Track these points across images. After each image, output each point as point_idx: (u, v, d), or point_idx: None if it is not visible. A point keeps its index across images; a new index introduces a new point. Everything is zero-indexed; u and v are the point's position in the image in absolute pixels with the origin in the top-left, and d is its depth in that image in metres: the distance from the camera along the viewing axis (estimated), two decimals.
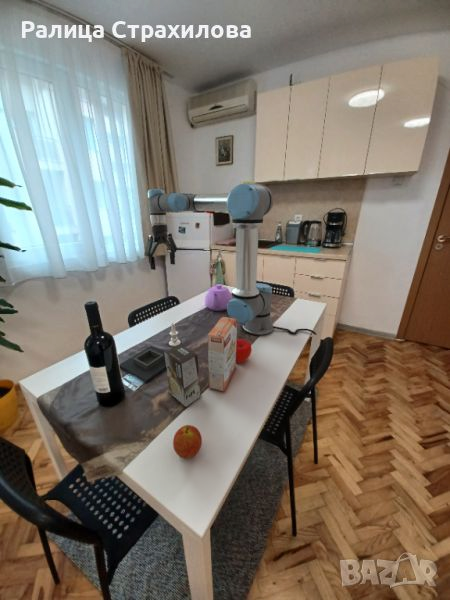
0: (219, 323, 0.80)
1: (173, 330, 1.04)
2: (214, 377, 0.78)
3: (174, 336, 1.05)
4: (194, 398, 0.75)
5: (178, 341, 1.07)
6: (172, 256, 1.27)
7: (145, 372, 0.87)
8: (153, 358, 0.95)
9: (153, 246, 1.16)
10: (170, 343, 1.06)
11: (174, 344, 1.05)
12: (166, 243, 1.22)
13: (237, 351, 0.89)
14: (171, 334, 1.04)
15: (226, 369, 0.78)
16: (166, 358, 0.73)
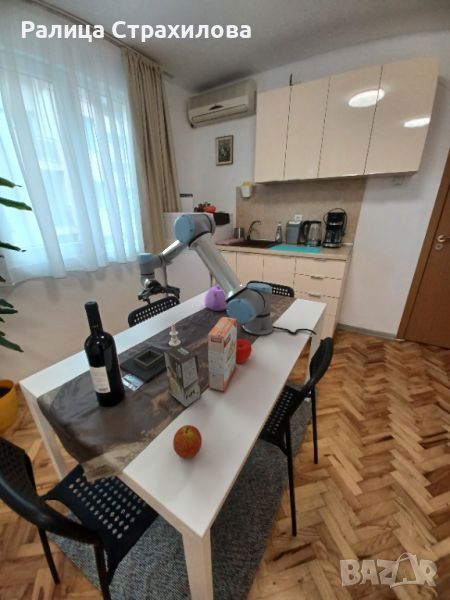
0: (219, 323, 0.80)
1: (173, 330, 1.04)
2: (214, 377, 0.78)
3: (174, 336, 1.05)
4: (194, 398, 0.75)
5: (178, 341, 1.07)
6: (174, 292, 1.14)
7: (145, 372, 0.87)
8: (153, 358, 0.95)
9: None
10: (170, 343, 1.06)
11: (174, 344, 1.05)
12: (164, 289, 1.19)
13: (237, 351, 0.89)
14: (171, 334, 1.04)
15: (226, 369, 0.78)
16: (166, 358, 0.73)
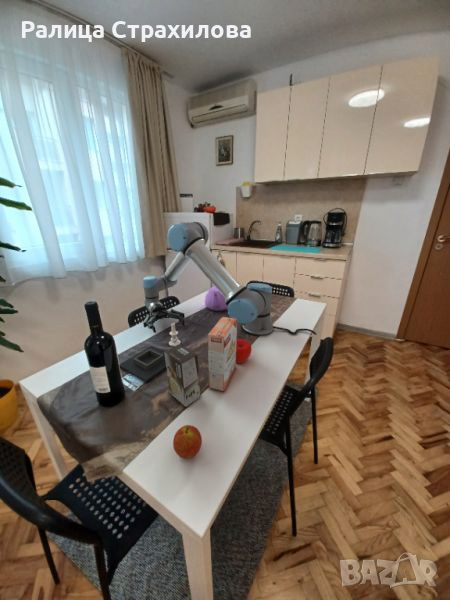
0: (219, 323, 0.80)
1: (173, 330, 1.04)
2: (214, 377, 0.78)
3: (174, 336, 1.05)
4: (194, 398, 0.75)
5: (178, 341, 1.07)
6: (179, 318, 1.16)
7: (145, 372, 0.87)
8: (153, 358, 0.95)
9: None
10: (170, 343, 1.06)
11: (174, 344, 1.05)
12: (168, 314, 1.20)
13: (237, 351, 0.89)
14: (171, 334, 1.04)
15: (226, 369, 0.78)
16: (166, 358, 0.73)
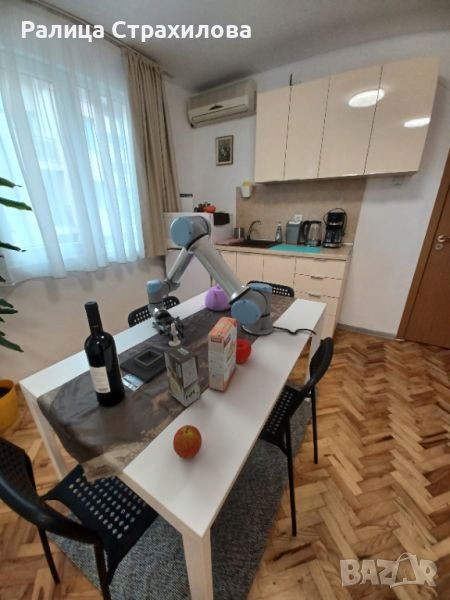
0: (219, 323, 0.80)
1: (173, 330, 1.04)
2: (214, 377, 0.78)
3: (174, 336, 1.05)
4: (194, 398, 0.75)
5: (178, 341, 1.07)
6: (178, 330, 1.05)
7: (145, 372, 0.87)
8: (153, 358, 0.95)
9: None
10: (170, 343, 1.06)
11: (174, 344, 1.05)
12: (171, 323, 1.12)
13: (237, 351, 0.89)
14: None
15: (226, 369, 0.78)
16: (166, 358, 0.73)
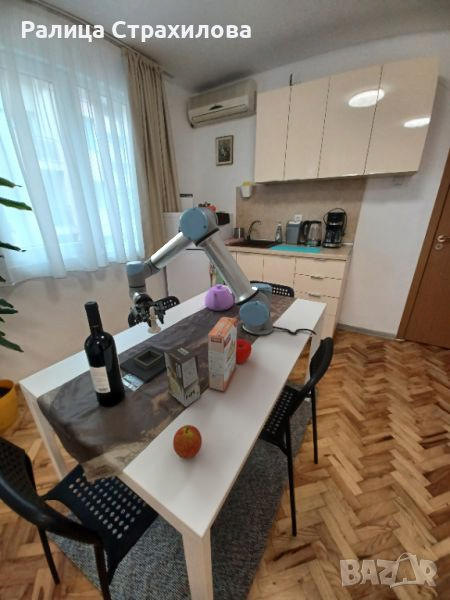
0: (219, 323, 0.80)
1: (152, 315, 0.90)
2: (214, 377, 0.78)
3: (153, 322, 0.91)
4: (194, 398, 0.75)
5: (158, 328, 0.94)
6: (158, 315, 0.91)
7: (145, 372, 0.87)
8: (153, 358, 0.95)
9: None
10: (149, 330, 0.92)
11: (153, 331, 0.92)
12: None
13: (237, 351, 0.89)
14: (150, 319, 0.90)
15: (226, 369, 0.78)
16: (166, 358, 0.73)
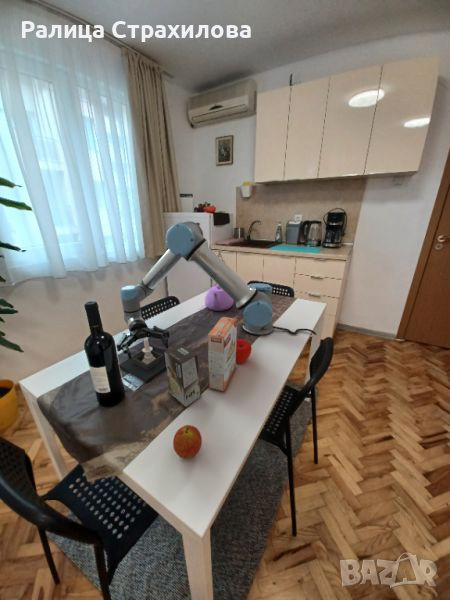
0: (219, 323, 0.80)
1: (146, 346, 0.90)
2: (214, 377, 0.78)
3: (148, 353, 0.91)
4: (194, 398, 0.75)
5: (153, 358, 0.94)
6: (162, 339, 0.94)
7: (145, 372, 0.87)
8: None
9: None
10: (143, 361, 0.92)
11: (148, 362, 0.91)
12: (150, 333, 0.99)
13: (237, 351, 0.89)
14: (144, 351, 0.90)
15: (226, 369, 0.78)
16: (166, 358, 0.73)
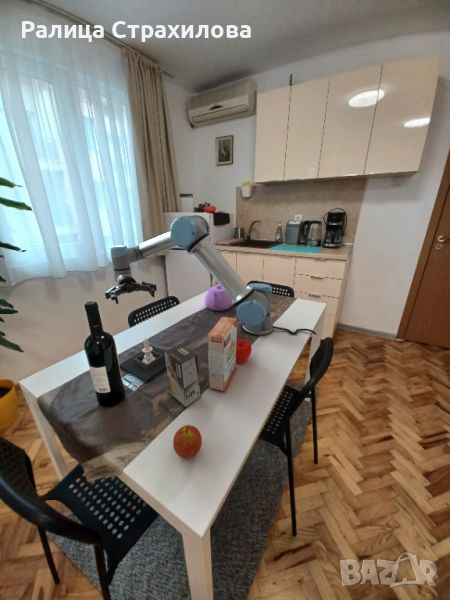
0: (219, 323, 0.80)
1: (146, 346, 0.90)
2: (214, 377, 0.78)
3: (148, 353, 0.91)
4: (194, 398, 0.75)
5: (153, 358, 0.94)
6: (149, 289, 0.99)
7: (145, 372, 0.87)
8: None
9: None
10: (143, 361, 0.92)
11: (148, 362, 0.91)
12: (138, 286, 1.03)
13: (237, 351, 0.89)
14: (144, 351, 0.90)
15: (226, 369, 0.78)
16: (166, 358, 0.73)
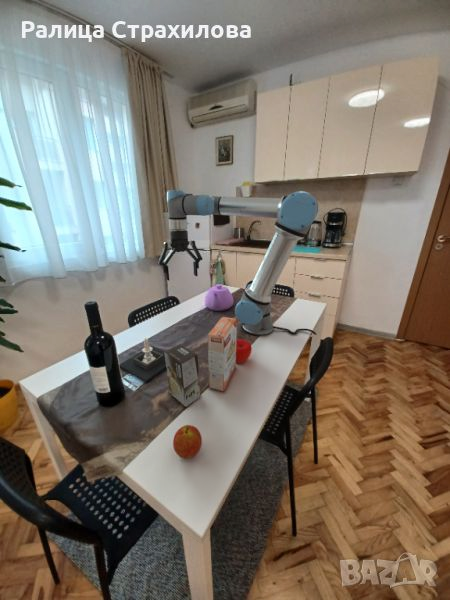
0: (219, 323, 0.80)
1: (146, 346, 0.90)
2: (214, 377, 0.78)
3: (148, 353, 0.91)
4: (194, 398, 0.75)
5: (153, 358, 0.94)
6: (195, 266, 1.11)
7: (145, 372, 0.87)
8: None
9: (169, 254, 1.03)
10: (143, 361, 0.92)
11: (148, 362, 0.91)
12: (187, 251, 1.07)
13: (237, 351, 0.89)
14: (144, 351, 0.90)
15: (226, 369, 0.78)
16: (166, 358, 0.73)
